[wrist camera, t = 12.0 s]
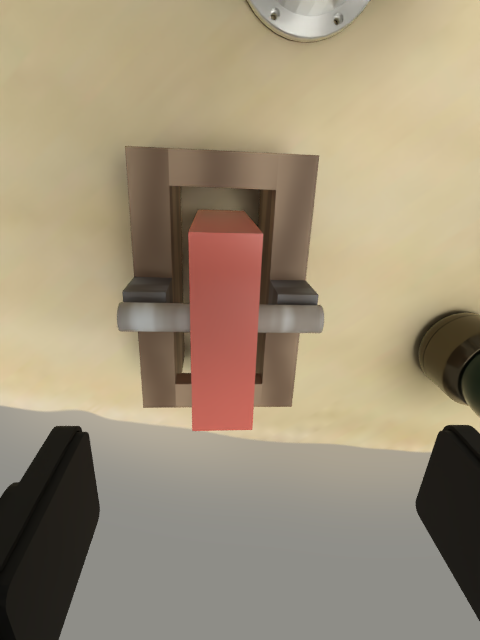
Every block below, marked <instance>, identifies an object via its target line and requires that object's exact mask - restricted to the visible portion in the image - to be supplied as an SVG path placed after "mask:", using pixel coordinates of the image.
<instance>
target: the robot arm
mask: <svg viewBox="0 0 480 640" xmlns="http://www.w3.org/2000/svg"><path fill="white" fill-rule="evenodd" d="M247 2H248V3H249V5H250V6H251V8H252V10H253V11H254V13H255V14H256V15H257V17H258V18H259V19H260V20H261V21H262V22H263V23H264V24H265V25H266V26H267V27H268V28H270V29H271V30H272V31H274V32H275V33H276V34H278V35H280V36H283V37H285V38H287V39H289V40H294V41H300V42H316V41H319V40H323V39H327V38H330V37H331V36H333V35H335V34H337V33H339V32H341V31H342V30H344V29H345V28H346V27H347V26H348V25H350V24H351V23H352V22H353V21H354V20H355V19H356V18H357V17H358V16H359V15H360V14H361V13H362V11H363V10H364V9H365V7H366V6H367V4H368V3H369V2H370V0H247ZM271 15H275V16H276V20H272V19H271ZM334 20H337V22H338V25H336V24H335V23H334ZM416 509H417V513H418V515H419V517H420V518H421V520H422V522H423V524H424V525H425V527H426V529H427V530H428V532H429V534H430V536H431V538H432V539H433V541H434V543H435V545H436V546H437V548H438V550H439V551H440V553H441V555H442V557H443V558H444V560H445V562H446V564H447V565H448V567H449V569H450V571H451V572H452V574H453V576H454V578H455V579H456V581H457V582H458V584H459V586H460V588H461V590H462V591H463V593H464V595H465V597H466V598H467V600H468V602H469V603H470V605H471V607H472V609H473V610H474V612H475V614H476V615H477V617H478V619H479V621H480V434H479V433H478V432H477V430H476V429H474V428H473V427H472V426H469V425H447V426H446V427H444V429H443V431H440V432H439V433H438V435H437V439H436V442H435V445H434V448H433V451H432V454H431V457H430V460H429V463H428V466H427V469H426V472H425V475H424V478H423V481H422V484H421V487H420V490H419V493H418V496H417V499H416ZM99 512H100V507H99V499H98V493H97V486H96V479H95V472H94V466H93V459H92V452H91V446H90V440H89V434H88V433H87V432H82V429H81V427H80V426H56V427H54V428H53V429H52V431H51V432H50V434H49V436H48V437H47V439H46V441H45V442H44V444H43V445H42V447H41V449H40V450H39V452H38V453H37V455H36V457H35V458H34V460H33V462H32V463H31V465H30V466H29V468H28V469H27V471H26V473H25V474H24V476H23V477H22V479H21V481H20V482H18V483H13V484H11V485H10V486H9V487H8V488H7V489H6V490H5V492H4V493H3V495H2V496H1V498H0V640H59V637H60V634H61V630H62V628H63V625H64V621H65V619H66V616H67V613H68V610H69V607H70V604H71V600H72V597H73V595H74V592H75V588H76V585H77V583H78V579H79V577H80V573H81V571H82V568H83V565H84V562H85V559H86V556H87V553H88V550H89V546H90V544H91V541H92V538H93V535H94V532H95V528H96V525H97V522H98V519H99Z"/></svg>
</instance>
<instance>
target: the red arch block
mask: <svg viewBox="0 0 480 640" xmlns="http://www.w3.org/2000/svg"><path fill="white" fill-rule="evenodd" d="M188 241H189V289H190V337H191V384H192V430H193V431H212V430H252V425H253V407H254V389H255V371H256V353H257V336H258V318H259V300H260V282H261V264H262V247H263V233H262V232H261V230H260V229H259V228H258V227H257V226H256V224H255V223H254V222H253V221H252V220H251V218H250V217H249V216H248V215H247V214H246V212H245V211H232V210H198V211H197V213H196V216H195V218H194V220H193V222H192V225H191V227H190V229H189V232H188Z"/></svg>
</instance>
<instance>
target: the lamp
mask: <svg viewBox="0 0 480 640" xmlns="http://www.w3.org/2000/svg"><path fill="white" fill-rule="evenodd" d="M418 358H419V363H420V366H421V369H422V370H423V372H424V373H425V375H426V376H427V377H428V378H429V379H430V380H432V381H433V382H434V383H435V384H436V385H437V386H438V387H439V388H440V389H441V390H442V391H443V392H444V393H445V394H447V395H448V396H449V397H450V398H451V399H452V400H454V401H455V402H457V403H460V404H463V405H467V406H470V408H471V409H472V410H473V411H474V412H475V413H476V414H477V415H478V416H479V417H480V315H479V314H475V313H457V314H453V315H450V316H447V317H445V318H443V319H441V320H439V321H438V322H436V323H435V324H434V325H433V326H432V327H431V328H430V329H429V330H428V331H427V332H426V334H425V335H424V337H423V339H422V341H421V343H420V347H419V353H418Z"/></svg>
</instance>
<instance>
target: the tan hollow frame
mask: <svg viewBox="0 0 480 640" xmlns="http://www.w3.org/2000/svg"><path fill="white" fill-rule="evenodd" d="M125 151H126V165H127V180H128V194H129V208H130V223H131V237H132V251H133V266H134V278H133V279H132V280H131V282H130V283H129V284H128V285H127V287H126V288H125V289H124V290H123V302H120V303H119V306H118V310H117V324H118V329H119V331H138V337H139V351H140V366H141V380H142V394H143V408H154V407H192V384H191V373H182V368H183V361H184V332H190V303H183V274H182V222H181V186H192V187H217V188H241V189H260V201H259V219H258V228H259V229H260V230H261V232H262V233H263V247H262V264H261V282H260V300H259V318H258V336H257V353H256V371H255V389H254V407H292V398H293V389H294V380H295V371H296V361H297V352H298V343H299V334H300V333H321V332H322V330H323V325H324V312H323V308H322V306H321V305H317V302H318V294H317V293H316V292H315V291H314V290H313V288H312V287H311V286H310V285H309V284H308V283H307V282H306V281H305V280H306V271H307V262H308V253H309V243H310V234H311V225H312V216H313V207H314V198H315V189H316V180H317V171H318V162H319V156H318V155H298V154H277V153H257V152H236V151H216V150H195V149H175V148H155V147H134V146H125Z"/></svg>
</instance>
